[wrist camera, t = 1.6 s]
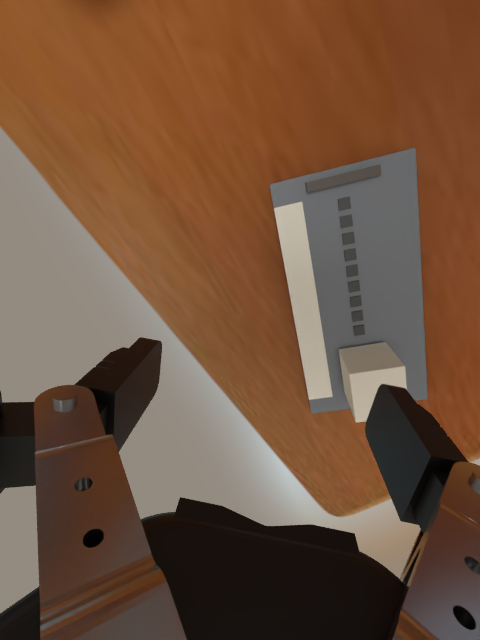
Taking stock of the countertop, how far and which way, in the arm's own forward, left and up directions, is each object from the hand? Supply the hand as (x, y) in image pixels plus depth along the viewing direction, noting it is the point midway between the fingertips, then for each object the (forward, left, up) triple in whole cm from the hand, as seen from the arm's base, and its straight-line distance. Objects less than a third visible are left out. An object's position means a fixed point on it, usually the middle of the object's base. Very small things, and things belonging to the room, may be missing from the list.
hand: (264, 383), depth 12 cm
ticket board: (-7, +4, -22) cm, 23 cm away
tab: (-7, +11, -20) cm, 24 cm away
